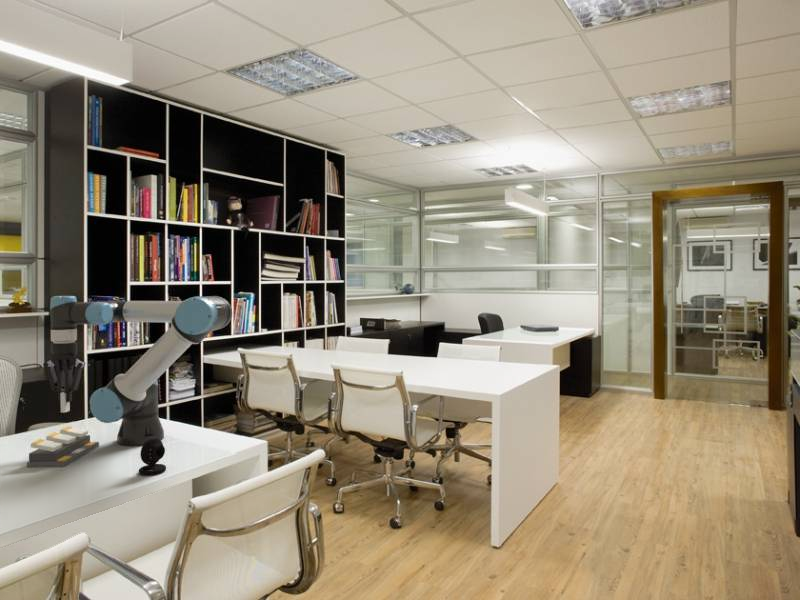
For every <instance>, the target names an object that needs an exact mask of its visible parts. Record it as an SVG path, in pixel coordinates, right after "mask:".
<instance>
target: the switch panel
mask: <svg viewBox="0 0 800 600" xmlns="http://www.w3.org/2000/svg"><path fill="white" fill-rule="evenodd" d="M69 436H70V435H69ZM74 437H76V436H74ZM56 443H58V442H56ZM99 447H100V441H91V435H89V434H87V435H85V436H83V437H76V439H75V441H73V442H71V443H69V444H64V443H62V447H61V448H60V449H58V450H56V451H54V452H52V451H47V450H42V449H37V448H36V449H35V450H34V451H30V453H28V461H27V462H26V467H27V468H64V467H66V466H68V465H69V464H71V463H73V462H75V461H76V460H78V459H80V458H81V457H83V456H86V454H88V453H90V452H92V451H93V450H95V449H97V448H99Z"/></svg>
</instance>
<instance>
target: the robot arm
mask: <svg viewBox="0 0 800 600" xmlns="http://www.w3.org/2000/svg"><path fill="white" fill-rule="evenodd" d="M77 300H78V299H77V296H75V295H56V296H54V295H53V296H52V297H51V298H50V304H49V305H50V306H49V307H50V308H49V314H50V342H52V343H51V344H50V353H51V357H50V360H48V361H47V362H44V363H43V364H42V365H43V367H44V369H45V370H46V374H47V378H48V381H49V385H50V388H51V391H52V392H56V393H57V402H58V403H60V413H68V412H70V411H71V409H70V408H71V403H70V402H72V401H73V392H74V391H77V390H78V389H79V386H80V381H81V376H82V372H83V369H84V367H85V366H86V362H85V361H81V360H80V359H79V356H78V342H77V340H78V328H77V327H78V325H90V326H91V325H92V326H93V325H94V326H101V325H103V326H104V325H107V324H109V323H169V324H171V325H170V327H169V328H168V329H167V331H165V333H163V335H161V336H160V337H159V338H158V339H157V340H156V341H155V342H154V344H152V346H151V347H149V349H147V350H146V352H144V354H143V355H142V356H141V357H140V358H139V359H138V360H137V361H136V362H135V363H134V364H133V365H132V366H131V367H130V368H129V369H128V370H127V371H125V373H119V374H117V375H116V376H114V378H113V379H111V381H110V382H108V384H106V386H103V387H100V388H98V389H97V390H94V392H93V393H92V394H91V396H90V398H89V405H90V407H89V409H90V412H91V414H92V415H93V417H94V418H95V419H96V420H98V421H99V422H101V423H104V424H111V423H116V422H118V421H120V420H121V423H120V426H119V430H118V433H117V436H116V438H117V439H116V440H117V441H116V442H117V444H119V445H121V446H122V445H123V446H143V444H144V443H145V442H146V441H147V440H149V439H151V438H157V439H160V440H161V441H162V440H163V439H164V437H165V431H164V428H163V425H162V422H161V420H160V416H159V384H158V379H159V378H160V377H161V376H162V375H163V374H164V373H165V372H166V371H167V370H168V369H169V368H170V367H171V366H172V365H173V364H174V363H175V362H176V361H177V360H178V359H179V358H180V357H181V356H182V355H183V354H184V353H185V352H186V351H187V349H189V348H190V347H191V345H198V344H200V343H201V342H202V341H203V340H204V339H205V338H207V336H208V335H209V334H210V333H212V332H213V331H218V330H222V329H223V328H225V327H226V326H228V325H229V323H230V321H231V320H232V318H233V309H232V306H231V304H230V303H229V301H228V300H227V299H225V297H224V298H223V297H221V296H218V295H211V296H210V295H209V296H208V295H207V296H203V295H202V296H201V295H197V296H193V297H189V298H187V299H185V300H122V299H117V300H116V299H115V300H108V301H106V300H105V301H85V302H84V301H82V302H80V301H77ZM74 366H75V368H74ZM73 372H74V373H73Z"/></svg>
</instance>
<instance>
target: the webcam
mask: <svg viewBox="0 0 800 600" xmlns="http://www.w3.org/2000/svg"><path fill="white" fill-rule="evenodd" d="M165 452H166V449H165V446H164V444H163V441H162V439H161V440H160V439H157V438H151V439H149V440H147V441H146V442H145V443H144V444H143V445H141V449H140V454H139V455H140V459H141V461H142V463H143V464H145V465H143V466H141V467H140V468H139V469H138V474H139V475H141V476H144V477H145V476H146V477H147V476H156V475H161V474H163V473H164V472H165V471H166V469H167V466H166V465H165V464H162V463H158V462H159V461H160V460H161V459H163V457H164V456H165Z"/></svg>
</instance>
